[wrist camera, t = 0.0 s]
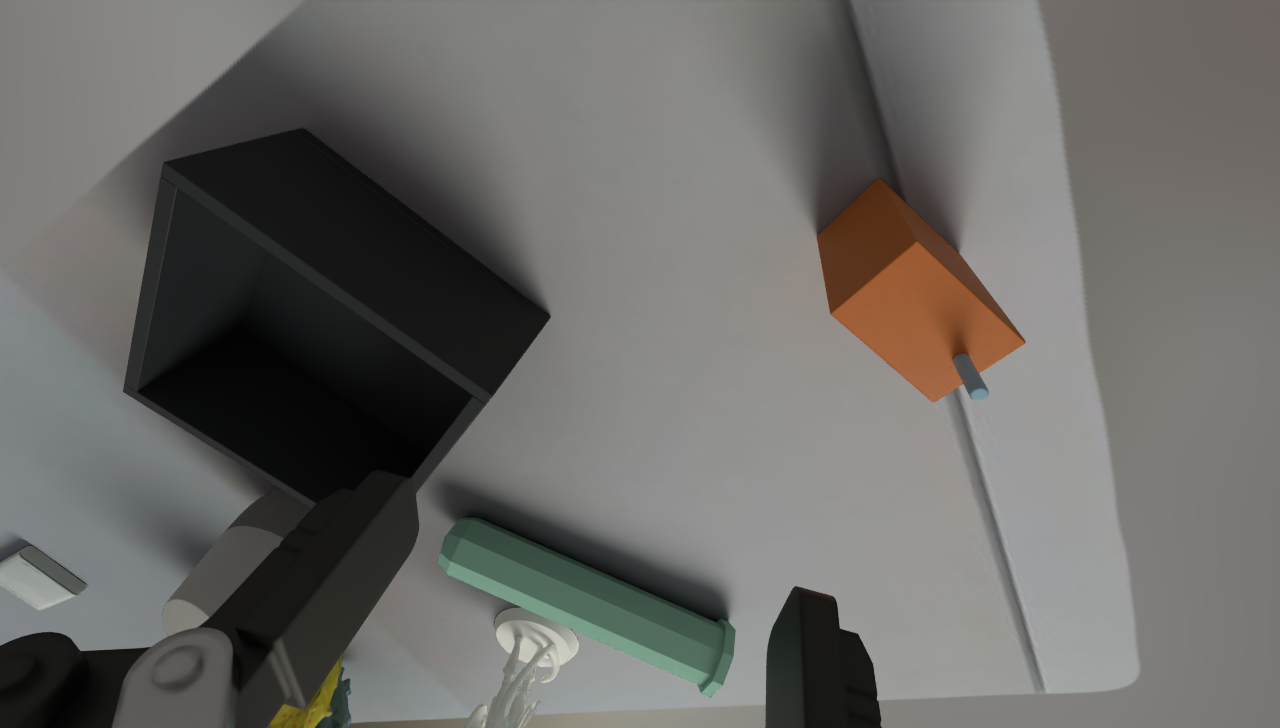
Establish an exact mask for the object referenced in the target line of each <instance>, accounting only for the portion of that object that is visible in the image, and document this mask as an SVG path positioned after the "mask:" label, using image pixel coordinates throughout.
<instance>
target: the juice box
mask: <svg viewBox="0 0 1280 728" xmlns="http://www.w3.org/2000/svg"><path fill="white" fill-rule="evenodd" d="M817 242H818V247H819V253H820V258H821V264H822V270H823V275H824V281H825V287H826V292H827V298H828V304H829V309H830V314H831V315H832V316H833V317H835V318H836V319H837V320H838V321H839V322H840V323H841V324H843V325H844V326H845V327H846V328H847V329H848V330H850V331H851V332H852V333H853V334H854V335H855V336H857V337H858V338H859V339H860V340H861V341H862V342H863V343H865V344H866V345H867V346H868V347H869V348H870V349H872V350H873V351H874V352H875V353H876V354H877V355H879V356H880V357H881V358H882V359H883V360H884V361H885V362H887V363H888V364H889V365H890V366H891V367H892V368H894V369H895V370H896V371H897V372H898V373H899V374H901V375H902V376H903V377H904V378H905V379H906V380H907V381H909V382H910V383H911V384H912V385H913V386H914V387H916V388H917V389H918V390H919V391H920V392H921V393H923V394H924V395H925V396H926V397H927V398H928V399H929V400H931V401H932V402H935V401H937V400H939V399H940V398H942V397H943V396H945V395H946V394H948V393H949V392H951V391H952V390H954V389H955V388H957V387H959V386H960V385H962V384H964V386H965V388H966V390H967V392H968V394H969V396H970V397H971V399H973V400H976V401H981V400H984V399H985V398H987V396H988V394H989V391H988V389H987V387H986V386H985V384H984V382H983V380H982V378H981V377H980V375H979V373H980V372H982V371H983V370H985V369H986V368H988V367H989V366H991V365H992V364H994V363H996V362H997V361H999V360H1000V359H1002V358H1003V357H1005V356H1006V355H1008V354H1009V353H1011V352H1013V351H1014V350H1016V349H1017V348H1019V347H1020V346H1022V345H1023V344H1025V343H1026V342H1025V340H1024V339H1023V337H1022V336H1021V335H1020V333H1019V332H1018V331H1017V329H1016V328H1015V327H1014V325H1013V324H1012V323H1011V321H1010V320H1009V319H1008V317H1007V316H1006V315H1005V313H1004V312H1003V311H1002V309H1001V308H1000V307H999V305H998V304H997V303H996V301H995V300H994V299H993V297H992V296H991V295H990V293H989V292H988V291H987V289H986V288H985V287H984V285H983V284H982V283H981V281H980V280H979V279H978V277H977V276H976V275H975V273H974V272H973V271H972V269H971V268H970V267H969V265H968V264H967V263H966V261H965V260H964V259H963V258H962V256H961V255H960V254H959V253H958V252H957V251H956V250H955V249H954V248H953V247H952V246H951V245H950V244H949V243H948V242H946V241H945V240H944V239H943V238H942V237H941V236H940V235H939V234H938V233H937V232H936V231H935V230H934V229H933V228H932V227H931V226H930V225H929V224H928V223H927V222H925V221H924V220H923V219H922V218H921V217H920V216H919V215H918V214H917V213H916V212H915V211H914V210H913V209H912V208H911V207H910V206H909V205H908V204H907V203H905V202H904V201H903V200H902V199H901V198H900V197H899V196H898V195H897V194H896V193H895V192H894V191H893V190H892V189H891V188H890V187H889V186H888V185H887V184H886V183H884V182H883V181H882V180H881V179H880V178H878V179H876V180H875V181H874V182H873V183H872V184H871V185H870V186H869V187H868V188H867V189H866V190H865V191H864V192H863V193H862V194H861V195H860V196H859V197H858V198H857V199H855V200H854V201H853V202H852V203H851V204H850V205H849V206H848V207H847V208H846V209H845V210H844V211H843V212H842V213H841V214H840V215H839V216H838V217H837V218H835V219H834V220H833V221H832V222H831V223H830V224H829V225H828V226H827V227H826V228H825V229H824V230H823V231H822V232H821V233H820V234H819V235H818V236H817Z"/></svg>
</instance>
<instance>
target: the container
mask: <svg viewBox="0 0 1280 728" xmlns="http://www.w3.org/2000/svg"><path fill="white" fill-rule="evenodd" d="M438 564H439V566H440V567H441V568H442V569H443V570H444V572H445V573H446V574H447V575H449V576H451V577H454V578H456V579H458V580H460V581H463V582H465V583H467V584H470V585H472V586H474V587H476V588H479V589H481V590H483V591H486V592H488V593H490V594H492V595H495V596H497V597H499V598H501V599H504V600H506V601H508V602H511V603H513V604H515V605H517V606H520V607H522V608H524V609H526V610H529V611H531V612H533V613H536V614H538V615H540V616H542V617H545V618H547V619H549V620H552V621H554V622H556V623H558V624H561V625H563V626H565V627H567V628H570V629H572V630H574V631H577V632H579V633H581V634H583V635H586V636H588V637H590V638H593V639H595V640H597V641H599V642H602V643H604V644H606V645H608V646H611V647H613V648H615V649H618V650H620V651H622V652H624V653H627V654H629V655H631V656H634V657H636V658H638V659H640V660H643V661H645V662H647V663H649V664H652V665H654V666H656V667H659V668H661V669H663V670H665V671H668V672H670V673H672V674H675V675H677V676H679V677H681V678H684V679H686V680H688V681H690V682H693V683H695V684H697V685H698V687H699V690H700V692H701V693H702V694H704V695H707V696H709V697H711V696H712V695H713V694H714V693H715V692H716V691H717V690H718V689H719V688H721V687H722V686H723V683H724V681H725V678H726V675H727V672H728V670H729V667H730V664H731V662H732V659H733V655H734V643H735V632H736V630H735V629H734V628H733V626H732V625H731V624H730V623H729V622H727V621H725V620H723V619H721V618H720V619H719V620H718V621H717V622H714V621H711V620H709V619H707V618H705V617H702V616H700V615H698V614H696V613H693V612H691V611H689V610H687V609H684V608H682V607H680V606H677V605H675V604H673V603H671V602H668V601H666V600H664V599H662V598H659V597H657V596H655V595H653V594H650V593H648V592H646V591H643V590H641V589H639V588H637V587H634V586H632V585H630V584H628V583H625V582H623V581H621V580H618V579H616V578H614V577H612V576H609V575H607V574H605V573H603V572H600V571H598V570H596V569H594V568H591V567H589V566H587V565H584V564H582V563H580V562H578V561H575V560H573V559H571V558H569V557H566V556H564V555H562V554H560V553H557V552H555V551H553V550H550V549H548V548H546V547H544V546H541V545H539V544H537V543H535V542H532V541H530V540H528V539H526V538H523V537H521V536H519V535H516V534H514V533H512V532H510V531H507V530H505V529H503V528H501V527H498V526H496V525H494V524H492V523H489V522H487V521H485V520H482V519H480V518H478V517H463V518H461V519H459V520H458V521H457V522H456V524H455V525H454V526H453V527H452V529H451V530H450V531H449V533H448V534H447V535H446V536H445V538H444V542H443V545H442V549H441V552H440V556H439V560H438Z"/></svg>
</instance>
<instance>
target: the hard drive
mask: <svg viewBox="0 0 1280 728" xmlns="http://www.w3.org/2000/svg"><path fill="white" fill-rule="evenodd" d="M0 585H1V586H2V587H4V588H5V589H7V590H8V591H10V592H11V593H13V594H14V595H16V596H17V597H19V598H20V599H21V600H23V601H25V602H26V603H28V604H29V605H31V606H32V607H34V608H35V609H37V610H44V609H46V608H48V607H51V606H53V605H56V604H58V603H61V602H63V601H65V600H68V599H70V598H73V597H75V596H78V595H79V594H81V593H82V592H83V591H84V590H85V589H86V588H87V586H86V585H85V584H84V583H83V582H82V581H80V580H79V579H77V578H76V577H75V576H73V575H72V574H71V573H69V572H68V571H66V570H65V569H64V568H62V567H61V566H60V565H58V564H57V563H55V562H54V561H53V560H51V559H50V558H49V557H47V556H46V555H45V554H43V553H42V552H40V551H39V550H38V549H36V548H35V547H32V546H27V547H26V548H24V549H22V550H20V551H19V552H17V553H15V554H13V555H11V556H10V557H8V558H6V559H5V560H3V561H1V562H0Z"/></svg>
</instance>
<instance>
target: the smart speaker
mask: <svg viewBox="0 0 1280 728" xmlns="http://www.w3.org/2000/svg"><path fill="white" fill-rule="evenodd" d="M311 509H312V508H310V507H309V506H307V505H306V504H304V503H302V502H301V501H299V500H297V499H296V498H294V497H293V496H291V495H289V494H288V493H286V492H284V491H283V490H281V489H277V490H275V491H272V492H270V493H268V494H266V495H264V496H263V497H261V498H260V499H258V500H257V501H255V502H254V503H253V504H251V505H250V506H249V507H248V508H247V509H246V510H245V511H244V512H243V513H242V514H241V515H240V516H239V517H238V518H237V519H236V520H235V521H234V522H233V523H232V524H231V525H230V526H229V527H228V529H227V530H226V531H225V532H224V533H223V534H222V535H221V537H220V538H219V539H218V540H217V542H216V543H215V544H214V545H213V546H212V548H211V549H210V550H209V551H208V552H207V554H206V555H205V556H204V557H203V559H202V560H201V561H200V562H199V563H198V565H197V566H196V567H195V568H194V569H193V571H192V572H191V573H190V574H189V576H188V577H187V578H186V579H185V580H184V582H183V583H182V584H181V585H180V586H179V588H178V589H177V590H176V591H175V593H174V594H173V595H172V596H171V597H170V599H169V600H168V601H167V602H166V604H165V606H164V608H163V613H162V618H163V624H164V628H165V631H166V634H167V636H171V635H173V634H175V633H178V632H181V631H184V630H187V629H192V628H197V627H199V626H200V625H201V624H202V623H204V622H205V621H206V620H208V619H209V618H210V617H211V616H212V615H213V614H214V613H215V612H216V611H217V610H218V609H219V608H220V606H221V605H222V604H223V603H224V602H225V601H226V600H227V599H228V598H229V597H230V596H231V595H232V594H233V593H234V591H235V590H236V589H237V588H238V587H239V586H240V585H241V584H242V583H243V582H244V581H245V580H246V579H247V578H248V576H249V575H250V574H251V573H252V572H253V571H254V570H255V569H256V568H257V567H258V566H259V565H260V564H261V563H262V561H263V560H264V559H265V558H266V557H267V556H268V555H269V554H270V553H271V552H272V551H273V550H274V549H275V548H276V547H277V548H278V547H279V545H280V542H281V541H282V540H283V539H284V538H285V537H286V536H287V535H288V534H289V533H290V531H291V530H292V529H293V530H294V529H295V528H296V525H297V524H298V523H299V522H300V521H301V520H302V519H303V518H304V516H305V515H306V514H307V513H308V512H309V511H310V510H311Z"/></svg>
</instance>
